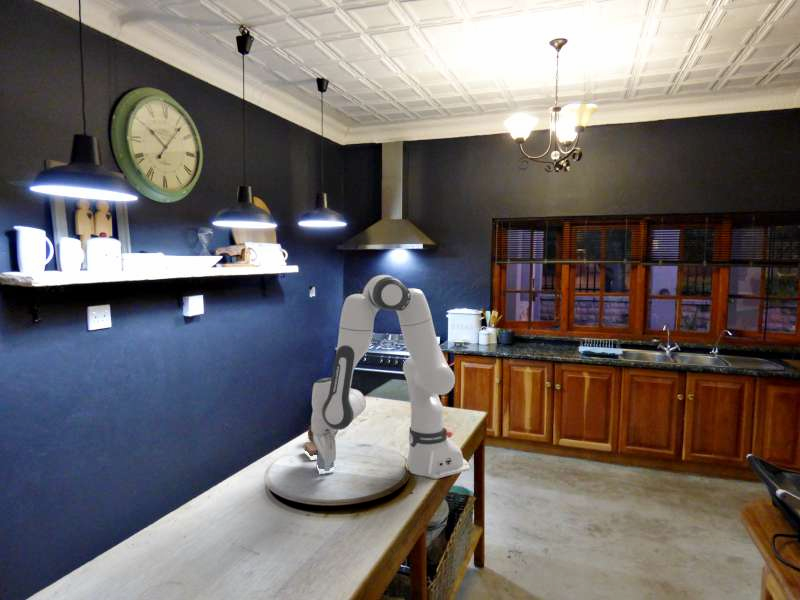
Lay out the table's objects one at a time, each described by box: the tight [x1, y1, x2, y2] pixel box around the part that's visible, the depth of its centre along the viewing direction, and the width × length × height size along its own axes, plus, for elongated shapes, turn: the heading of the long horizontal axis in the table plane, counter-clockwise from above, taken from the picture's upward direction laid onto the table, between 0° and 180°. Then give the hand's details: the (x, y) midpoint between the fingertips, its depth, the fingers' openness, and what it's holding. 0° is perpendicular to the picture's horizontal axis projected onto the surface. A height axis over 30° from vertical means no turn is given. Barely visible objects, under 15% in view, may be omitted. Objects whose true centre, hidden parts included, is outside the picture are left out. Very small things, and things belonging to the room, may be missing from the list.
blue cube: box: [316, 455, 335, 469], centre depth 166 cm, size 5×5×5 cm
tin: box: [307, 424, 339, 442], centre depth 194 cm, size 15×3×8 cm, turn 143°
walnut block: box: [303, 441, 318, 456], centre depth 179 cm, size 8×8×4 cm
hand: (323, 464), depth 165 cm, fingers open, 8 cm apart
